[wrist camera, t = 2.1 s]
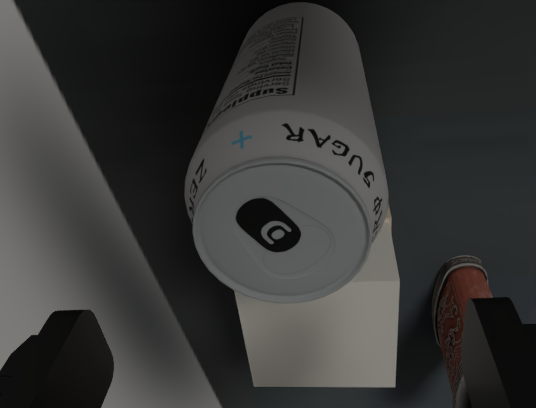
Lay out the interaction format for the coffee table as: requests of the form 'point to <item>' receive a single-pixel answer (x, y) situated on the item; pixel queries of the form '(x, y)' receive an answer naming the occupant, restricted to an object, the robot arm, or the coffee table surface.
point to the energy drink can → (289, 162)
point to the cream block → (329, 330)
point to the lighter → (456, 315)
